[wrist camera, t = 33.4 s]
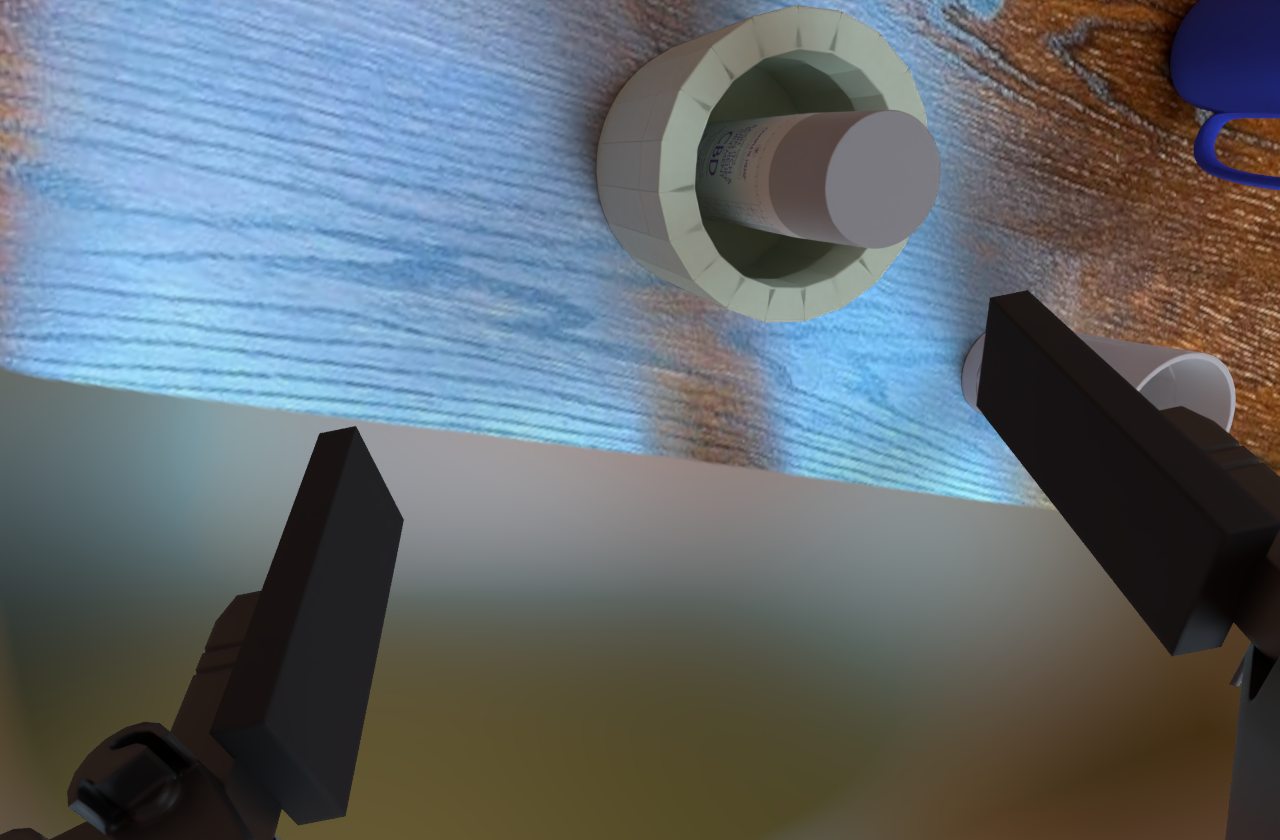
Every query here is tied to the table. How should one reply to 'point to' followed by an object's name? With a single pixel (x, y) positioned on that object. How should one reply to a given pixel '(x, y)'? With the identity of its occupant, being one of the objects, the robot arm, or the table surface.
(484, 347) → the table surface
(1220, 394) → the cup
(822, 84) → the round pot
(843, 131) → the container
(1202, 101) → the mug
